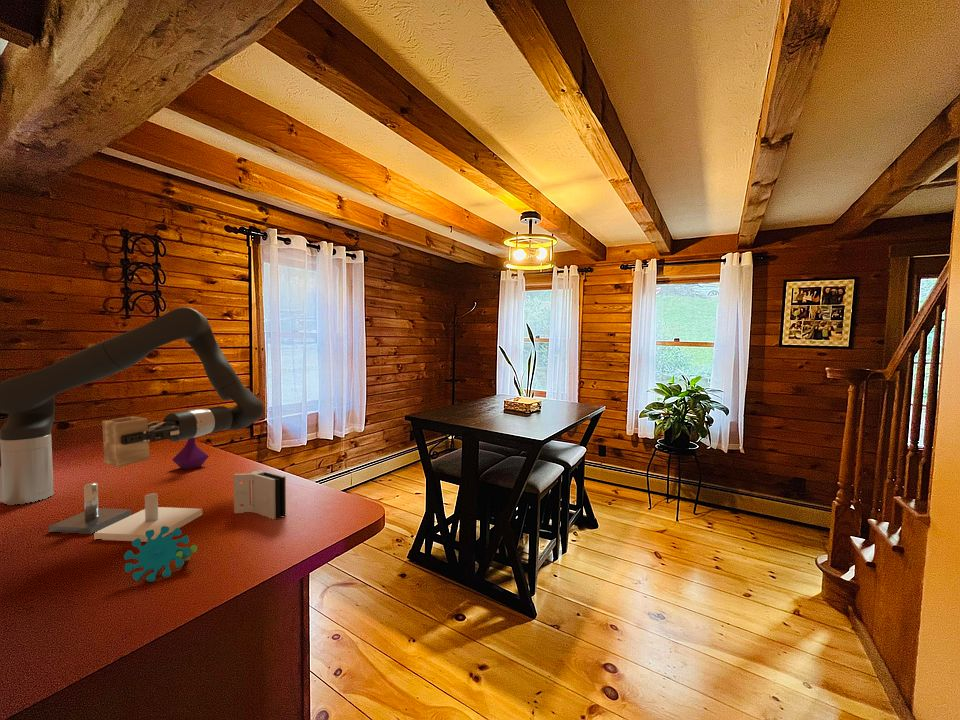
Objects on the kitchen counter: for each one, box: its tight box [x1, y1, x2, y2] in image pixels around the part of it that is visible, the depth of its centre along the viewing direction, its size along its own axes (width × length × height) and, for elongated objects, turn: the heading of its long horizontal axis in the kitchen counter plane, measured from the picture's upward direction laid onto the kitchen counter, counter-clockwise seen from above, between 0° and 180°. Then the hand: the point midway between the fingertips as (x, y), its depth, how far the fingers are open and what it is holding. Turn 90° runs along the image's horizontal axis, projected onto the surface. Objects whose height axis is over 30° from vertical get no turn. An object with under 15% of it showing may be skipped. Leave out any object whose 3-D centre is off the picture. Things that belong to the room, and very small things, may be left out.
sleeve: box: [101, 416, 150, 468], centre depth 96 cm, size 6×6×10 cm
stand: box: [48, 482, 132, 535], centre depth 97 cm, size 10×10×10 cm
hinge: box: [233, 469, 287, 520], centre depth 104 cm, size 14×5×10 cm, turn 74°
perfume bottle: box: [171, 437, 210, 470], centre depth 139 cm, size 8×8×18 cm
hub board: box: [93, 492, 203, 543], centre depth 96 cm, size 14×14×8 cm
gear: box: [123, 526, 198, 583], centre depth 79 cm, size 11×6×10 cm
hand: (113, 438), depth 94 cm, fingers closed on sleeve, 6 cm apart
